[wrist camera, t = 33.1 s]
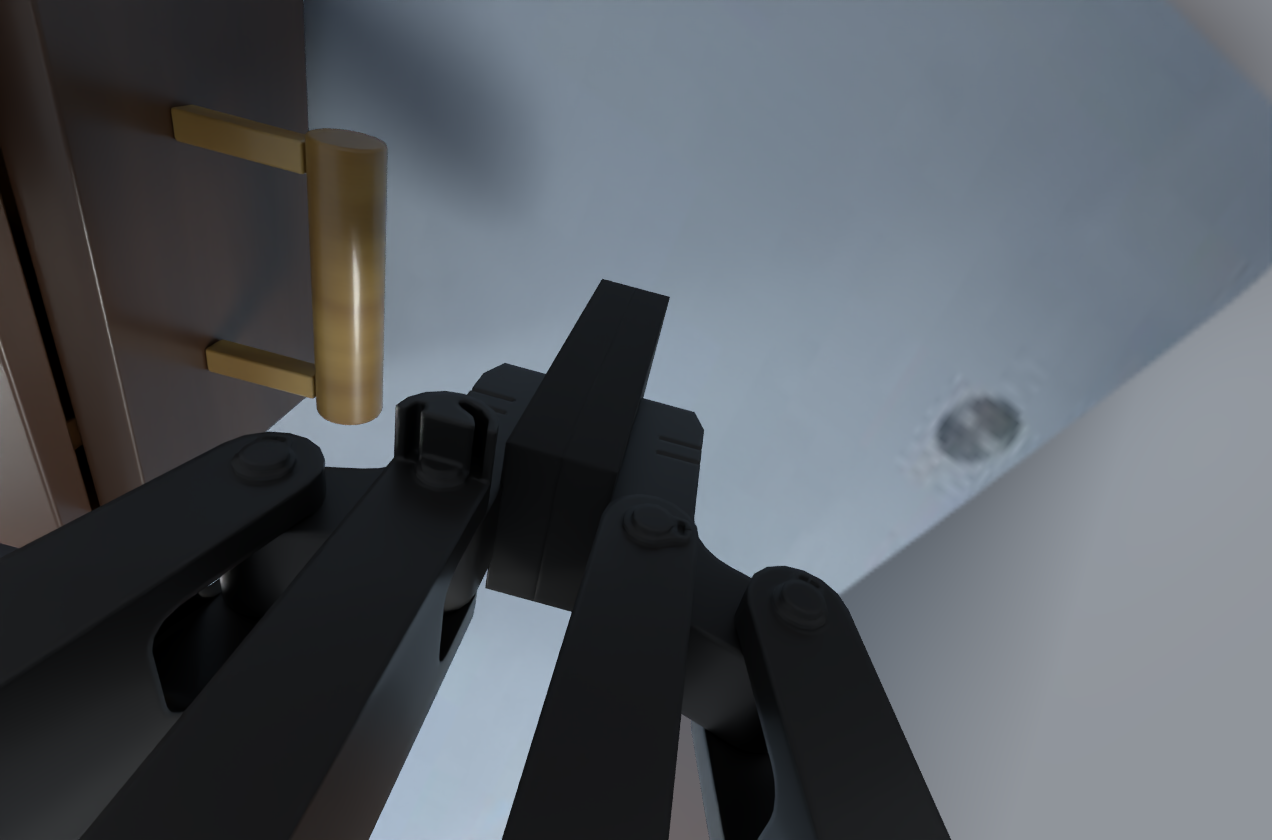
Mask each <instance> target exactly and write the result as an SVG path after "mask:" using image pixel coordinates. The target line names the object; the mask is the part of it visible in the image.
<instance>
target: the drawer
mask: <svg viewBox="0 0 1272 840" xmlns="http://www.w3.org/2000/svg"><path fill="white" fill-rule="evenodd" d="M387 160H388V147H387V145H386V143H385V142H383V141H382V140H380V139H378V138H376V137H373V136H370V135H367V134H364V133H360V132H355V131H350V130H343V129H331V128H322V129H314V130H310V131H309V127H308V102H307V77H306V53H305V28H304V3H303V0H0V192H1V196H2V199H3V203H4V206H5V210H6V213H7V217H8V220H9V223H10V227H11V230H12V234H13V237H14V241H15V244H16V248H17V251H18V255H19V258H20V262H21V265H22V269H23V272H24V276H25V279H26V282H27V286H28V289H29V293H30V296H31V300H32V303H33V307H34V310H35V314H36V317H37V321H38V324H39V328H40V331H41V335H42V338H43V341H44V345H45V348H46V352H47V355H48V359H49V362H50V366H51V369H52V373H53V376H54V380H55V383H56V387H57V390H58V394H59V397H60V400H61V404H62V407H63V411H64V414H65V418H66V421H67V425H68V428H69V432H70V435H71V439H72V442H73V446H74V449H77V448H78V447H80V446H81V445H83V448H84V451H85V455H86V458H87V462H88V466H89V469H90V473H91V476H92V480H93V483H94V487H95V491H96V494H97V498H98V501H99V505H100V506H102V505H104V504H106V503H108V502H110V501H112V500H114V499H116V498H117V497H119V496H121V495H123V494H125V493H127V492H129V491H131V490H133V489H135V488H137V487H139V486H141V485H143V484H145V483H147V482H149V481H150V480H152V479H154V478H156V477H158V476H160V475H162V474H164V473H166V472H168V471H170V470H172V469H174V468H176V467H178V466H180V465H181V464H183V463H185V462H187V461H189V460H191V459H193V458H195V457H197V456H199V455H201V454H203V453H205V452H207V451H209V450H211V449H213V448H214V447H216V446H218V445H220V444H222V443H224V442H227V441H229V440H232V439H235V438H238V437H240V436H243V435H248V434H255V433H262V432H266V431H267V430H268V429H270V428H271V427H272V426H273V425H274V424H275V423H277V422H278V421H279V420H280V419H281V418H282V417H284V416H285V415H286V414H287V413H288V412H289V411H291V410H292V409H293V408H294V407H295V406H296V405H298V404H299V403H300V402H301V401H302V400H303V399H305V398H306V397H308V398H315V397H316V405H317V411H318V413H319V414H320V415H321V416H322V417H323V418H324V419H326V420H328V421H330V422H333V423H336V424H342V425H358V424H363V423H367V422H369V421H372V420H374V419H375V418H377V417H378V416H379V414H380V413H381V411H382V408H383V360H384V310H385V260H386V210H387Z"/></svg>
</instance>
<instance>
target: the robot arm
mask: <svg viewBox="0 0 1272 840" xmlns="http://www.w3.org/2000/svg"><path fill="white" fill-rule="evenodd" d="M669 298H670V297H668V296H664V295H661V294H657V293H653V292H649V291H646V290H642V289H638V288H634V287H631V286H627V285H623V284H620V283H616V282H612V281H608V280H605V279H602V280H601V282H600V284H599V285H598V287H597V289H596V290H595V292H594V294H593V295H592V297H591V299H590V300H589V302H588V304H587V306H586V307H585V309H584V311H583V312H582V314H581V316H580V317H579V319H578V321H577V322H576V324H575V326H574V328H573V329H572V331H571V333H570V334H569V336H568V338H567V339H566V341H565V343H564V344H563V346H562V348H561V350H560V351H559V353H558V355H557V356H556V358H555V360H554V361H553V363H552V365H551V367H550V368H549V370H548V372H547V373H546V374H544V373H540V372H536V371H532V370H529V369H525V368H521V367H518V366H514V365H510V364H507V363H504V364H502V365H500V366H498V367H495V368H493V369H491V370H489V371H487V372H485V373H483V375H482V376H481V377H480V379H479V380H478V381H477V382H476V384H475V385H474V386H473V388H472V391H471V390H470V392H469V393H468V394H467V395H466V394H461V393H454V392H448V391H437V392H424V393H420V394H417V395H413V396H410V397H407V398H406V399H404V400H403V401H401V402H400V403H398V404H397V405H396V413H395V445H394V458H393V459H392V461H391V462H390V463H389V464H388V465H387V467H383V468H368V469H359V468H338V467H325V459H324V456H323V454H322V451H321V449H320V447H318V446H317V445H316V444H314V443H313V442H311V441H310V440H309V439H307V438H304V437H301V436H297V435H294V434H291V433H281V432H262V433H255V434H248V435H243V436H240V437H238V438H235V439H232V440H229V441H227V442H224V443H222V444H220V445H218V446H216V447H214V448H213V449H211V450H209V451H207V452H205V453H203V454H201V455H199V456H197V457H195V458H193V459H191V460H189V461H187V462H185V463H183V464H181V465H180V466H178V467H176V468H174V469H172V470H170V471H168V472H166V473H164V474H162V475H160V476H158V477H156V478H154V479H152V480H150V481H149V482H147V483H145V484H143V485H141V486H139V487H137V488H135V489H133V490H131V491H129V492H127V493H125V494H123V495H121V496H119V497H117V498H116V499H114V500H112V501H110V502H108V503H106V504H104V505H102V506H100V507H98V508H96V509H94V510H92V511H90V512H88V513H86V514H85V515H83V516H81V517H79V518H77V519H75V520H73V521H71V522H69V523H67V524H65V525H63V526H61V527H59V528H57V529H55V530H54V531H52V532H50V533H48V534H46V535H44V536H42V537H40V538H38V539H36V540H34V541H32V542H30V543H28V544H26V545H24V546H22V547H21V548H19V549H17V550H15V551H13V552H11V553H9V554H7V555H5V556H3V557H1V558H0V840H369V838H370V836H371V833H372V831H373V829H374V827H375V825H376V823H377V821H378V818H379V816H380V814H381V812H382V810H383V808H384V806H385V803H386V801H387V799H388V797H389V795H390V793H391V791H392V788H393V786H394V784H395V782H396V780H397V778H398V776H399V773H400V771H401V769H402V767H403V765H404V763H405V761H406V758H407V756H408V754H409V752H410V750H411V748H412V746H413V743H414V741H415V739H416V737H417V735H418V733H419V731H420V728H421V726H422V724H423V722H424V720H425V718H426V716H427V713H428V711H429V709H430V707H431V705H432V703H433V701H434V699H435V696H436V694H437V692H438V690H439V688H440V686H441V684H442V681H443V679H444V677H445V675H446V673H447V671H448V669H449V666H450V664H451V662H452V660H453V658H454V656H455V654H456V651H457V649H458V647H459V645H460V643H461V641H462V639H463V636H464V634H465V632H466V630H467V628H468V626H469V624H470V621H471V619H472V617H473V613H474V608H475V603H476V595H477V589H478V587H479V585H480V583H481V581H482V579H483V577H484V575H485V573H486V571H487V569H488V572H487V579H486V587H485V588H487V589H491V590H494V591H498V592H502V593H505V594H509V595H513V596H516V597H520V598H524V599H527V600H531V601H535V602H538V603H542V604H545V605H549V606H553V607H556V608H560V609H564V610H567V611H571V612H572V613H571V617H570V620H569V623H568V626H567V630H566V633H565V636H564V639H563V643H562V646H561V649H560V652H559V656H558V659H557V662H556V665H555V669H554V672H553V675H552V678H551V682H550V685H549V688H548V691H547V695H546V698H545V701H544V704H543V708H542V711H541V714H540V717H539V721H538V724H537V727H536V730H535V734H534V737H533V740H532V743H531V747H530V750H529V753H528V756H527V760H526V763H525V766H524V769H523V773H522V776H521V779H520V782H519V786H518V789H517V792H516V795H515V798H514V802H513V805H512V808H511V811H510V815H509V818H508V821H507V824H506V828H505V831H504V834H503V837H502V840H668V839H669V829H670V820H671V810H672V800H673V790H674V780H675V770H676V761H677V751H678V741H679V731H680V722H681V714H683V715H684V716H686V717H688V718H689V719H691V731H692V737H693V743H694V749H695V755H696V761H697V767H698V773H699V779H700V785H701V791H702V798H703V804H704V810H705V816H706V822H707V828H708V834H709V840H951V839H950V836H949V834H948V832H947V829H946V827H945V825H944V823H943V821H942V818H941V816H940V814H939V812H938V809H937V807H936V805H935V803H934V800H933V798H932V796H931V794H930V791H929V789H928V787H927V785H926V783H925V780H924V778H923V776H922V773H921V771H920V769H919V767H918V765H917V762H916V760H915V758H914V756H913V753H912V751H911V749H910V747H909V744H908V742H907V740H906V738H905V735H904V733H903V731H902V729H901V727H900V724H899V722H898V720H897V718H896V715H895V713H894V711H893V709H892V706H891V704H890V702H889V700H888V697H887V695H886V693H885V691H884V688H883V686H882V684H881V682H880V679H879V677H878V675H877V673H876V670H875V668H874V666H873V664H872V662H871V659H870V657H869V655H868V653H867V650H866V648H865V646H864V644H863V641H862V639H861V637H860V635H859V632H858V630H857V628H856V626H855V624H854V621H853V619H852V617H851V614H850V612H849V610H848V608H847V607H846V606H845V604H844V602H843V601H842V599H841V598H840V596H839V595H838V594H837V593H836V592H835V591H834V590H833V589H832V588H830V587H829V586H828V585H827V584H826V583H825V582H824V581H822V580H821V579H819V578H817V577H815V576H813V575H811V574H809V573H807V572H805V571H804V570H799V569H795V568H791V567H787V566H774V567H766V568H764V569H762V570H760V571H759V572H757V573H755V574H754V575H753V577H752V578H750V577H748V576H747V575H745V574H743V573H741V572H739V571H737V570H735V569H734V568H732V567H730V566H728V565H727V564H725V563H724V562H722V561H721V560H719V559H718V558H716V557H715V556H714V555H713V554H712V553H711V552H710V551H709V550H708V549H707V548H706V547H705V546H704V544H703V543H702V542H701V540H700V539H699V537H698V531H697V526H696V525H695V523H694V515H695V506H696V497H697V488H698V479H699V470H700V461H701V452H702V451H701V449H702V443H703V434H704V429H703V427H702V426H701V424H700V422H699V420H698V418H697V416H696V414H695V412H692V411H688V410H684V409H681V408H677V407H673V406H670V405H666V404H662V403H659V402H655V401H651V400H647V399H644V398H643V396H644V393H645V389H646V385H647V381H648V377H649V374H650V370H651V366H652V362H653V359H654V355H655V351H656V347H657V344H658V340H659V336H660V332H661V328H662V325H663V321H664V317H665V313H666V310H667V306H668V302H669ZM219 578H220V579H219ZM217 579H218V580H217ZM216 580H217V581H216ZM214 581H215V582H214ZM213 582H214V583H213ZM211 583H213V584H211ZM210 584H211V585H210Z"/></svg>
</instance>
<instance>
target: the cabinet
mask: <svg viewBox="0 0 1272 840" xmlns="http://www.w3.org/2000/svg"><path fill="white" fill-rule="evenodd" d="M98 507H100V505H99V501H98V498H97V494H96V491H95V487H94V483H93V480H92V476H91V473H90V469H89V466H88V462H87V458H86V455H85V451H84V448H83V445H81V446H80V447H78V448H77V449H74V446H73V442H72V439H71V435H70V432H69V428H68V425H67V421H66V418H65V414H64V411H63V407H62V404H61V400H60V397H59V394H58V390H57V387H56V383H55V380H54V376H53V373H52V369H51V366H50V362H49V359H48V355H47V352H46V348H45V345H44V341H43V338H42V335H41V331H40V328H39V324H38V321H37V317H36V314H35V310H34V307H33V303H32V300H31V296H30V293H29V289H28V286H27V282H26V279H25V276H24V272H23V269H22V265H21V262H20V258H19V255H18V251H17V248H16V244H15V241H14V237H13V234H12V230H11V227H10V223H9V220H8V217H7V213H6V210H5V206H4V203H3V199H2V196H1V192H0V543H2V544H6V545H9V546H13V547H17V548H21V547H22V546H24V545H26V544H28V543H30V542H32V541H34V540H36V539H38V538H40V537H42V536H44V535H46V534H48V533H50V532H52V531H54V530H55V529H57V528H59V527H61V526H63V525H65V524H67V523H69V522H71V521H73V520H75V519H77V518H79V517H81V516H83V515H85V514H86V513H88V512H90V511H92V510H94V509H96V508H98Z"/></svg>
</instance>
